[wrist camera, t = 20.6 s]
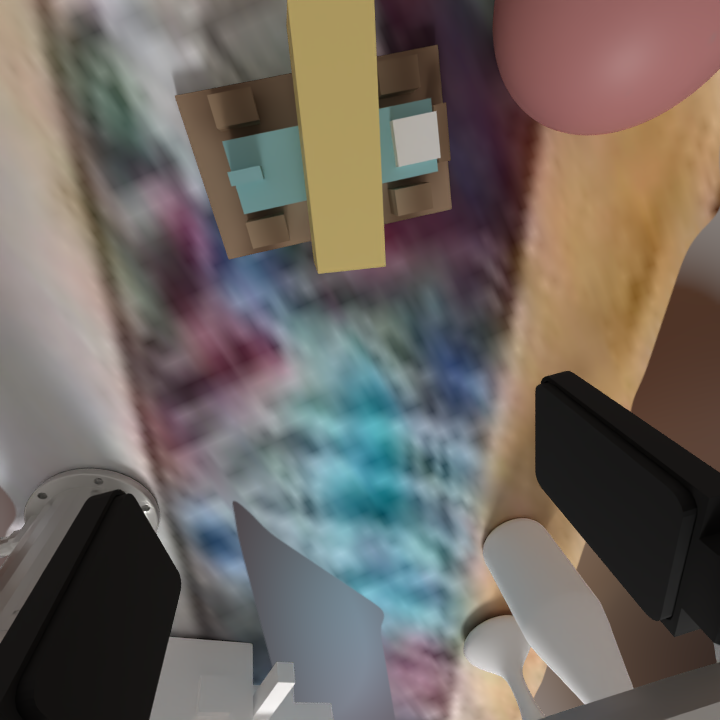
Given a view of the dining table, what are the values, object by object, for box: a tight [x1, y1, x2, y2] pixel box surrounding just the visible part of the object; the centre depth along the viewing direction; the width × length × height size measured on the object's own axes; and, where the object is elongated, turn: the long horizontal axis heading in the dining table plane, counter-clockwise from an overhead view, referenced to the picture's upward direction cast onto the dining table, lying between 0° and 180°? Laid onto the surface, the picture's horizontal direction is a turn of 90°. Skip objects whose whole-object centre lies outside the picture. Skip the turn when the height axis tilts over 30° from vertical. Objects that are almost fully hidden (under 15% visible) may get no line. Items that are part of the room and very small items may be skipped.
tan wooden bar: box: [286, 0, 386, 274], centre depth 26 cm, size 4×14×4 cm, turn 4°
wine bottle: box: [483, 518, 634, 704], centre depth 44 cm, size 10×10×30 cm
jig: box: [175, 45, 452, 259], centre depth 32 cm, size 20×12×4 cm, turn 101°
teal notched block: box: [222, 98, 441, 214], centre depth 29 cm, size 14×4×8 cm, turn 101°
